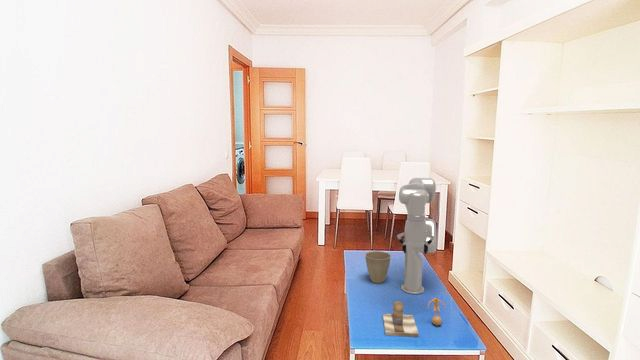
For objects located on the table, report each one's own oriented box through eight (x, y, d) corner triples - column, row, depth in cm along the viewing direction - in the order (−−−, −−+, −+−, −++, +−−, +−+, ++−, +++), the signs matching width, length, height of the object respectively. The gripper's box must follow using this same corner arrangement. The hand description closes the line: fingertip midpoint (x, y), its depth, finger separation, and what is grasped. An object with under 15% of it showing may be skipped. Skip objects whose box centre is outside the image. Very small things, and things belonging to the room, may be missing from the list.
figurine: (429, 327, 163) (430, 302, 161) (425, 320, 169) (426, 296, 167) (447, 327, 163) (448, 302, 161) (442, 320, 169) (443, 296, 167)
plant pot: (388, 276, 220) (389, 251, 218) (391, 286, 206) (391, 259, 203) (364, 275, 222) (364, 250, 220) (364, 285, 207) (365, 259, 205)
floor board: (382, 316, 172) (382, 313, 172) (412, 318, 171) (412, 314, 171) (385, 335, 156) (385, 331, 156) (418, 337, 155) (418, 333, 155)
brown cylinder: (392, 319, 166) (392, 301, 165) (401, 320, 166) (402, 301, 164) (393, 324, 162) (393, 305, 160) (403, 325, 161) (403, 306, 160)
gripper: (433, 216, 173) (431, 250, 176) (396, 215, 175) (395, 249, 177) (436, 220, 166) (435, 256, 168) (398, 219, 167) (397, 254, 170)
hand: (414, 252), depth 173 cm, fingers open, 9 cm apart
